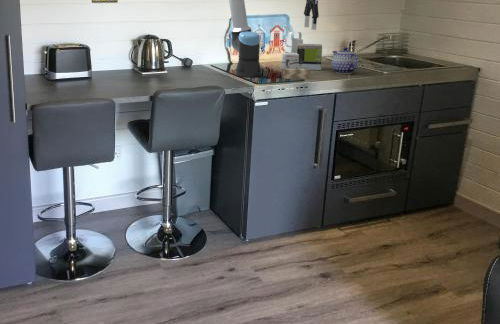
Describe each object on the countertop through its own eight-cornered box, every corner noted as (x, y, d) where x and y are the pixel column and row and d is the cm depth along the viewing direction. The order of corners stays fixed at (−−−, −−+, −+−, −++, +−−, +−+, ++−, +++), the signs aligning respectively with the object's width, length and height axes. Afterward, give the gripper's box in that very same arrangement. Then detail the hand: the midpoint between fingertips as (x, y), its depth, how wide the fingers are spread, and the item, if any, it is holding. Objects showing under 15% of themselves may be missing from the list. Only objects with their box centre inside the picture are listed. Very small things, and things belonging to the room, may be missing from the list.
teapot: (366, 75, 335) (369, 49, 330) (344, 77, 329) (346, 50, 324) (343, 68, 356) (345, 44, 352) (321, 69, 350) (323, 44, 346)
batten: (283, 78, 318) (284, 69, 316) (282, 77, 321) (282, 68, 319) (309, 78, 321) (310, 69, 320) (307, 77, 324) (308, 68, 323)
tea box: (320, 67, 357) (322, 43, 352) (320, 70, 347) (322, 45, 342) (296, 66, 358) (297, 42, 353) (296, 69, 349) (297, 44, 344)
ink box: (284, 74, 330) (285, 54, 326) (281, 73, 335) (282, 52, 331) (298, 74, 333) (299, 54, 329) (295, 73, 337) (296, 52, 333)
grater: (282, 62, 371) (284, 31, 364) (297, 62, 375) (298, 31, 368) (289, 65, 362) (291, 33, 355) (304, 64, 366) (306, 32, 359)
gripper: (326, -8, 324) (323, 30, 331) (312, -10, 347) (309, 26, 354) (313, -9, 322) (310, 30, 329) (300, -10, 345) (297, 26, 352)
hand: (310, 28), depth 341 cm, fingers open, 13 cm apart
